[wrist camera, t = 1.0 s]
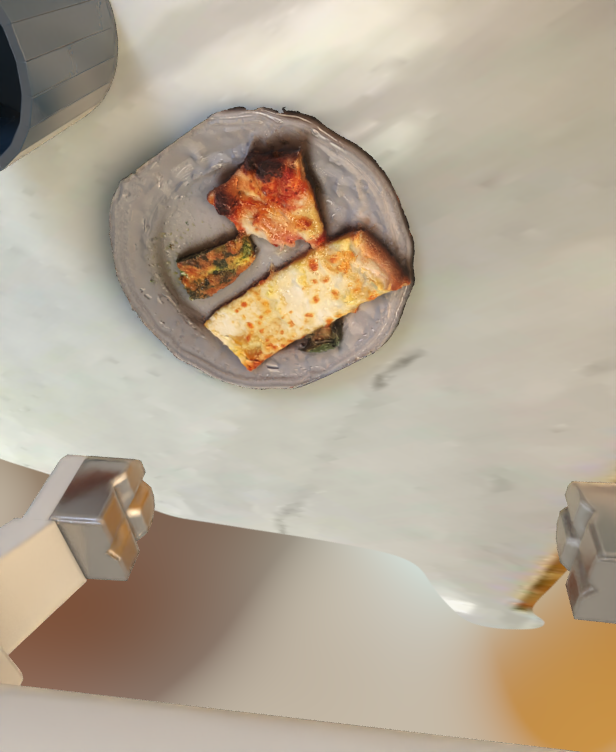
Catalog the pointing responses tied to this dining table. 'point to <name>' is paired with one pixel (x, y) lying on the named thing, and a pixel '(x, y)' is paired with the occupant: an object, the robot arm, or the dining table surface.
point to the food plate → (263, 249)
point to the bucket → (51, 68)
